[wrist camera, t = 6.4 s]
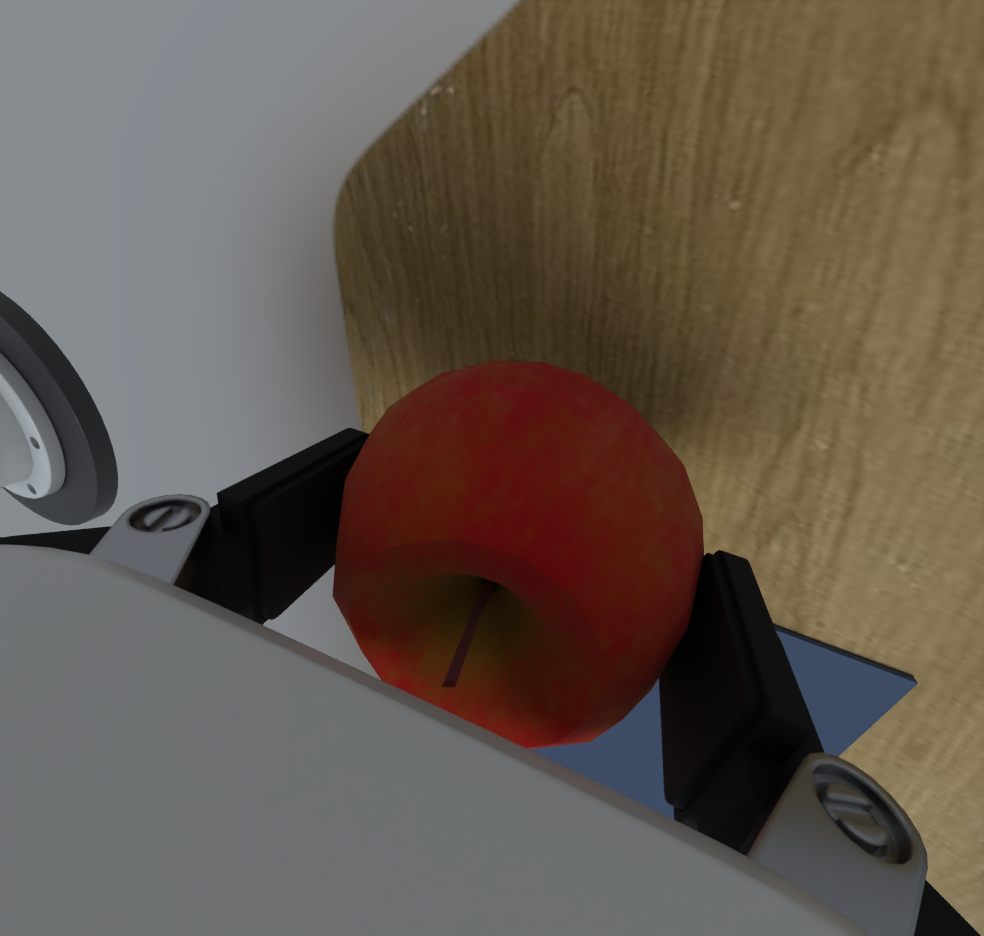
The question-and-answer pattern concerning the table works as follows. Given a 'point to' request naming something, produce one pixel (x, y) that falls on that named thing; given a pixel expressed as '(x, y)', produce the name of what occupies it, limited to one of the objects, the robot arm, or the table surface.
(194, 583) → the robot arm
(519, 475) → the apple
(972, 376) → the table surface
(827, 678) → the napkin
